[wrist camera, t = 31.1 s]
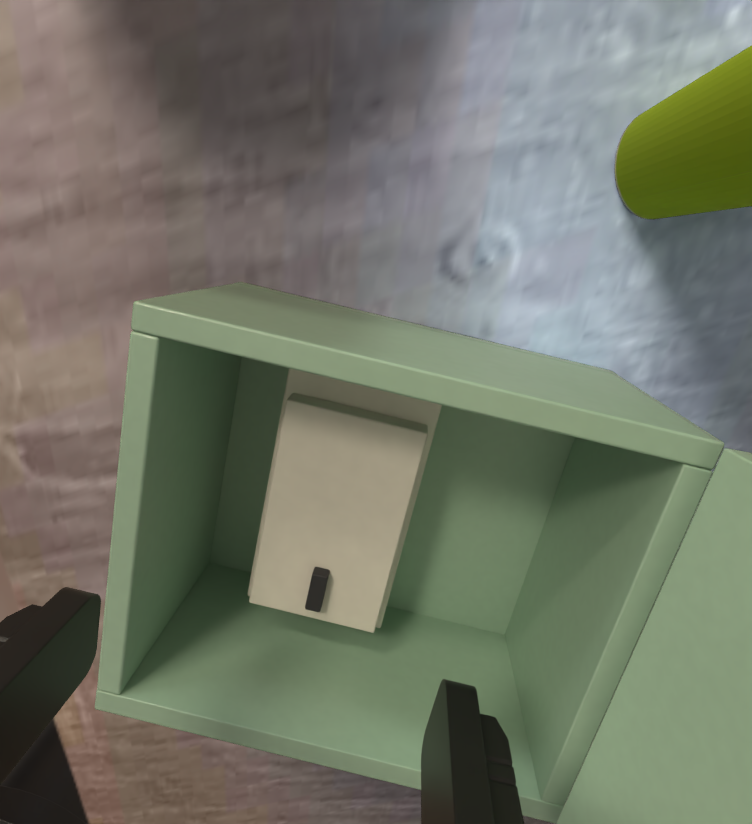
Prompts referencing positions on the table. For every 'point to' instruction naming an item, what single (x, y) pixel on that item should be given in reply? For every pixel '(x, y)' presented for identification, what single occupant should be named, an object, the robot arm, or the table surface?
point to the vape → (691, 147)
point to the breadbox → (422, 551)
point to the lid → (685, 683)
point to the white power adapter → (339, 499)
